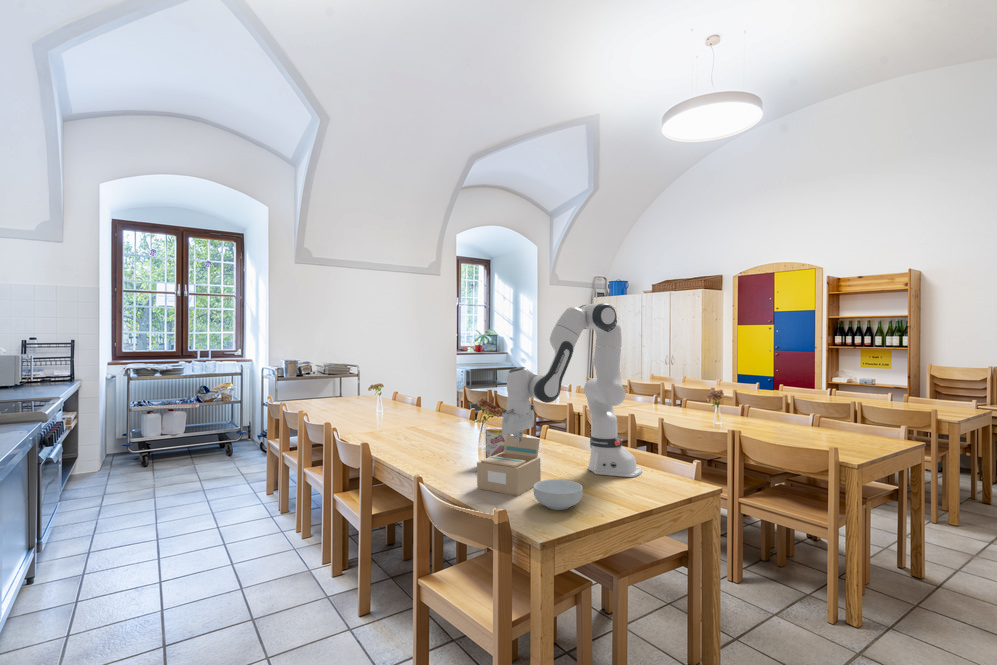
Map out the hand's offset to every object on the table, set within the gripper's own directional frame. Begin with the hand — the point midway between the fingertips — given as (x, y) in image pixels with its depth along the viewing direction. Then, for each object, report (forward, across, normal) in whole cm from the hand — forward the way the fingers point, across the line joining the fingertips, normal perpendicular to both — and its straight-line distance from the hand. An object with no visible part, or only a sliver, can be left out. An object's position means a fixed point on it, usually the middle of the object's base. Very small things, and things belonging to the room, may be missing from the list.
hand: (518, 442), depth 202 cm
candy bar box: (+16, +16, +20) cm, 30 cm away
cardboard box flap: (+2, +2, 0) cm, 3 cm away
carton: (+15, -8, 0) cm, 17 cm away
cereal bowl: (+16, -18, -26) cm, 36 cm away
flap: (+5, -12, 0) cm, 13 cm away
